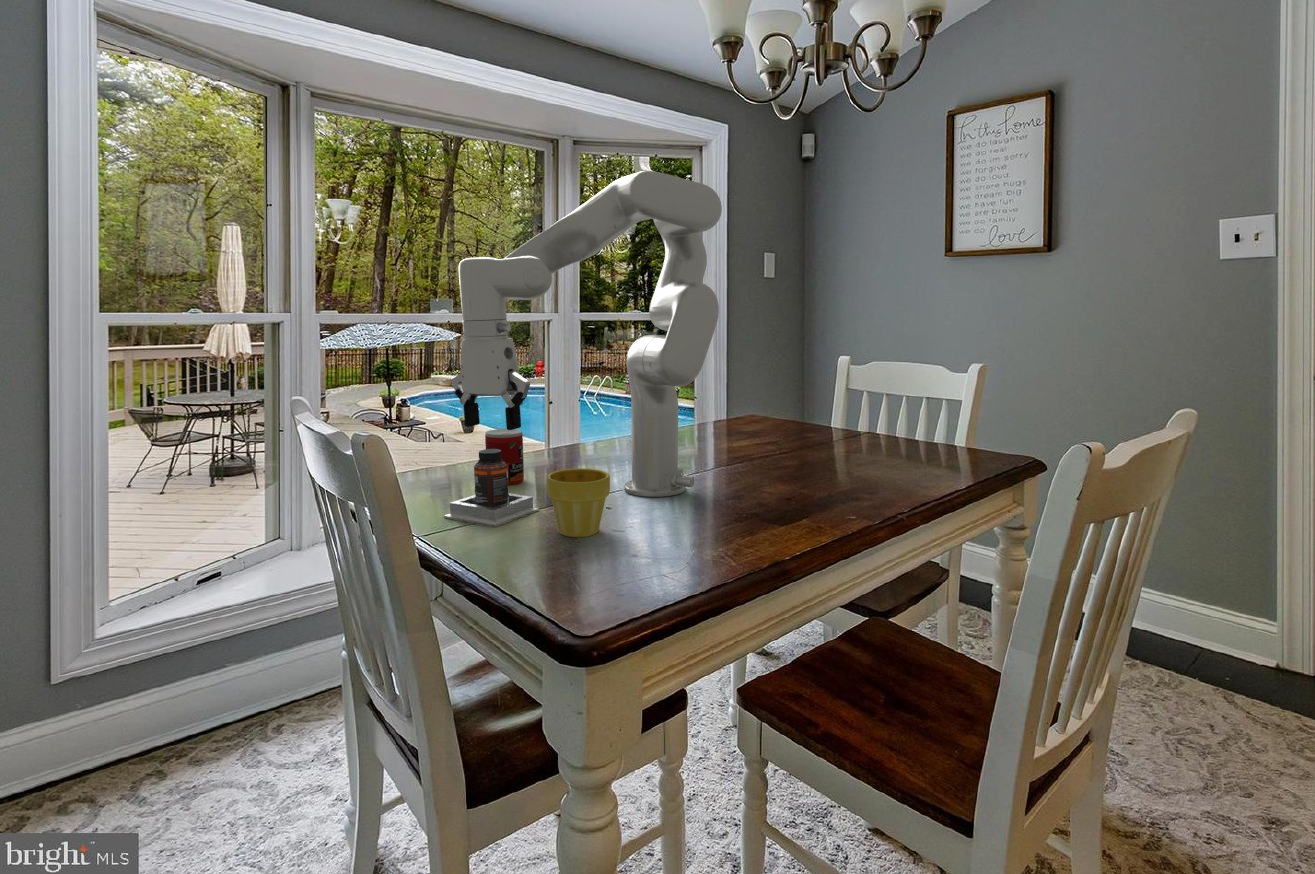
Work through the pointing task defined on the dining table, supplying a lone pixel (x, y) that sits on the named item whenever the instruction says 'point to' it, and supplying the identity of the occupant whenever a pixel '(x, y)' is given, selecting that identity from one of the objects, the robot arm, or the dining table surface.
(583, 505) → the plant pot
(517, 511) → the holder
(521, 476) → the canned food
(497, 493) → the supplement bottle
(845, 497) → the dining table surface
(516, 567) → the dining table surface
